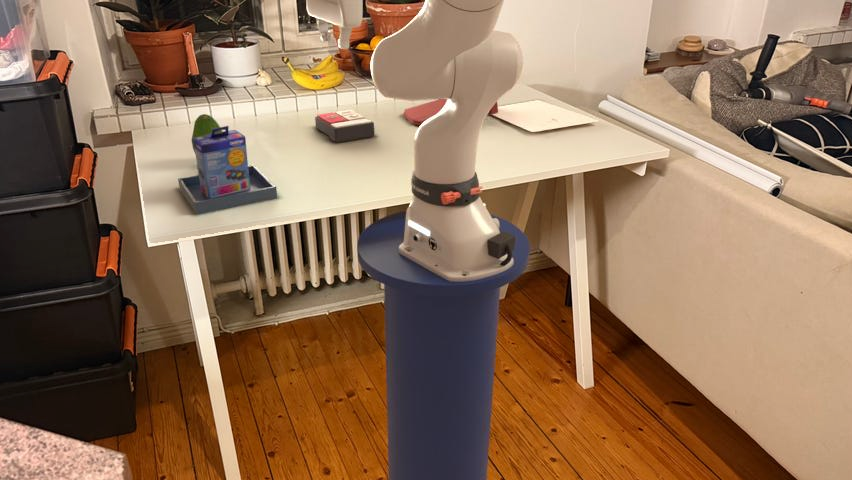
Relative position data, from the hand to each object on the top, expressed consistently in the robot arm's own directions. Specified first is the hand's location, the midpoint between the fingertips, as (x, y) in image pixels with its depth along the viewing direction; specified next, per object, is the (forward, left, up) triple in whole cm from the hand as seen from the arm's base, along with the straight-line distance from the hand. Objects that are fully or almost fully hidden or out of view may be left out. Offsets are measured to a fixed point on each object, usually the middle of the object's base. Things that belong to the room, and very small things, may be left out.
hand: (334, 44), depth 143 cm
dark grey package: (+30, -14, -29) cm, 44 cm away
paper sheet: (+15, -66, -29) cm, 74 cm away
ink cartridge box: (+4, +25, -29) cm, 38 cm away
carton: (+28, -46, -29) cm, 61 cm away
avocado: (+24, +23, -29) cm, 44 cm away
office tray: (+4, +25, -29) cm, 39 cm away
